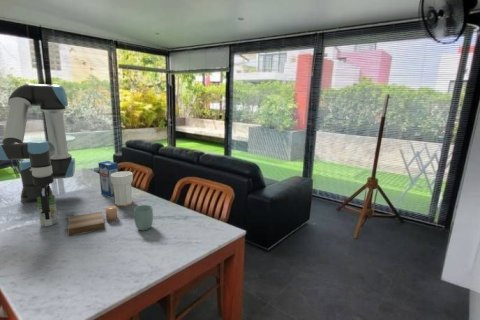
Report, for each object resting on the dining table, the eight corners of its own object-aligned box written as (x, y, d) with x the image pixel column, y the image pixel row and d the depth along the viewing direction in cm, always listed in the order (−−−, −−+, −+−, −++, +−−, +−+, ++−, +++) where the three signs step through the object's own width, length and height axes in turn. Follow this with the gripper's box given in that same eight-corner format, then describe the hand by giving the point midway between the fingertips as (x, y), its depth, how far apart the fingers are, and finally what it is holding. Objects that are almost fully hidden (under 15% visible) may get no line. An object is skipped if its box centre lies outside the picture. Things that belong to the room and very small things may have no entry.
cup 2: (156, 226, 128) (155, 206, 125) (146, 233, 120) (144, 212, 118) (143, 223, 130) (141, 203, 128) (131, 230, 123) (130, 210, 121)
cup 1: (108, 205, 150) (105, 175, 146) (123, 198, 161) (121, 170, 157) (124, 208, 146) (121, 177, 142) (138, 201, 156) (137, 172, 152)
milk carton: (120, 194, 167) (117, 163, 162) (110, 197, 162) (107, 165, 157) (110, 191, 172) (107, 160, 167) (101, 194, 167) (98, 162, 162)
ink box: (40, 227, 124) (36, 200, 121) (40, 224, 127) (36, 197, 124) (58, 223, 128) (55, 197, 125) (58, 220, 131) (54, 194, 128)
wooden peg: (106, 218, 134) (105, 207, 133) (117, 216, 137) (116, 205, 135) (107, 222, 130) (105, 210, 129) (118, 220, 133) (117, 208, 131)
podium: (69, 222, 129) (68, 217, 128) (102, 216, 136) (101, 211, 135) (68, 235, 117) (68, 229, 116) (104, 228, 124) (104, 222, 123)
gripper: (35, 170, 128) (42, 215, 134) (28, 182, 111) (37, 232, 117) (54, 168, 132) (60, 212, 137) (50, 179, 115) (57, 228, 120)
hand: (49, 221), depth 127 cm, fingers open, 7 cm apart
